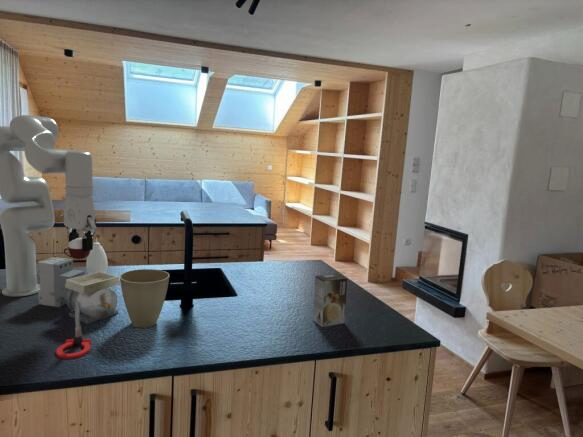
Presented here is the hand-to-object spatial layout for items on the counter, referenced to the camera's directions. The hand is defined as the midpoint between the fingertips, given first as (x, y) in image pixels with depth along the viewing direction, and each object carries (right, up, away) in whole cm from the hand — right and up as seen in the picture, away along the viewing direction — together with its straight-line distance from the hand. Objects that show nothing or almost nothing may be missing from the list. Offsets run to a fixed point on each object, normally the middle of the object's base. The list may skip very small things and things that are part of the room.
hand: (80, 247), depth 138 cm
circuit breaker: (-13, -21, +16) cm, 29 cm away
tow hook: (+7, -27, -17) cm, 33 cm away
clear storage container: (+1, -23, +7) cm, 24 cm away
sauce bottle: (-14, -16, +43) cm, 48 cm away
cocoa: (0, -3, 0) cm, 3 cm away
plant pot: (+19, -25, +3) cm, 31 cm away
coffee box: (+79, -26, +12) cm, 84 cm away
